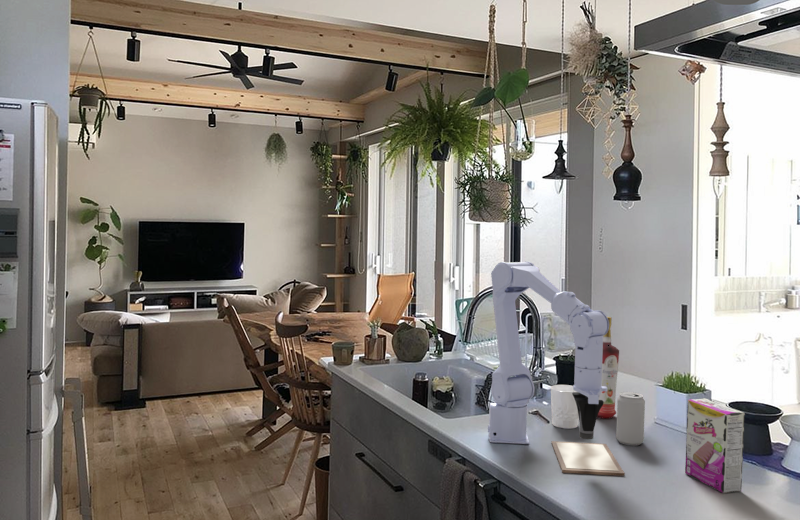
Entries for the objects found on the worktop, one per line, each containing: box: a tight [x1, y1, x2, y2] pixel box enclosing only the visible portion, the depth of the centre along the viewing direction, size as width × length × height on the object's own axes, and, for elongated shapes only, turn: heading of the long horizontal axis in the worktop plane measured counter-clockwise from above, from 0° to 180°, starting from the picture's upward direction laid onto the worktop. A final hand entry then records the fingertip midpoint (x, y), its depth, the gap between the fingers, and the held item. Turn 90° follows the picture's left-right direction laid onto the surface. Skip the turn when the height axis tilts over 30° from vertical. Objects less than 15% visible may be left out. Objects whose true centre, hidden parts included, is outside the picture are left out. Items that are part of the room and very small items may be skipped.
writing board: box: [550, 440, 626, 477], centre depth 149 cm, size 13×19×1 cm
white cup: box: [550, 384, 579, 430], centre depth 174 cm, size 8×8×10 cm
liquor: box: [597, 316, 620, 420], centre depth 182 cm, size 7×7×28 cm
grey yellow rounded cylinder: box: [578, 414, 595, 440], centre depth 142 cm, size 3×3×7 cm
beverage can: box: [615, 391, 646, 447], centre depth 160 cm, size 6×6×12 cm
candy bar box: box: [684, 398, 746, 494], centre depth 135 cm, size 11×5×16 cm, turn 17°
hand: (586, 428), depth 142 cm, fingers closed on grey yellow rounded cylinder, 3 cm apart
